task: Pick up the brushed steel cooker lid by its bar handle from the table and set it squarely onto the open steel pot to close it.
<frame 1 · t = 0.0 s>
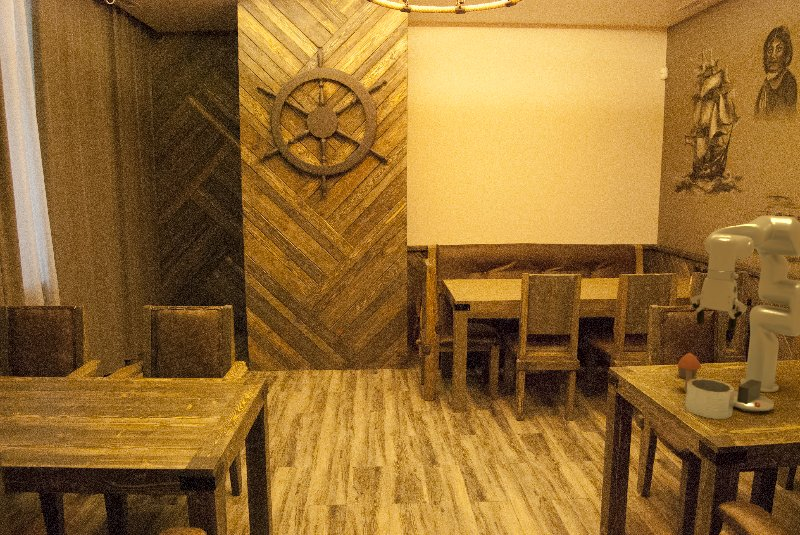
hand: (715, 326, 197), 31 cm above the table, tool pointing down, fingers open, 9 cm apart
lid: (747, 406, 212), on the table
pot: (708, 410, 208), on the table
vase: (686, 378, 240), on the table
mushroom: (686, 391, 225), on the table
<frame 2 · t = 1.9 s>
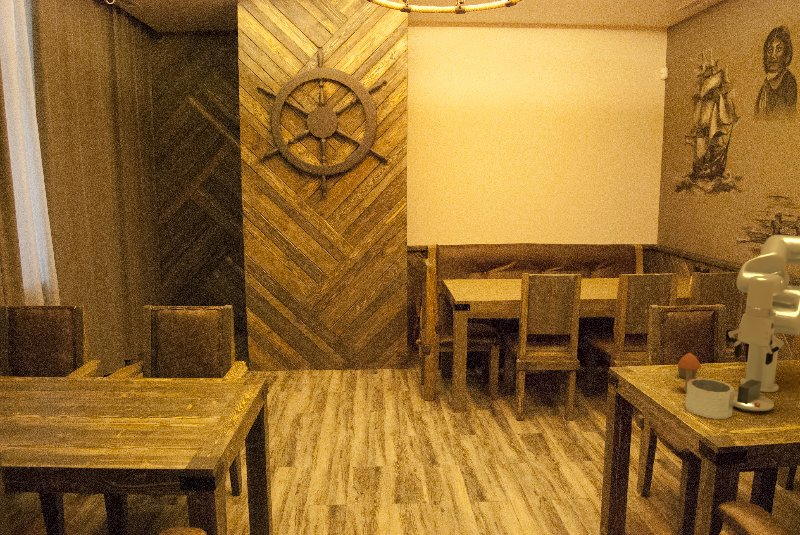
hand: (752, 360, 208), 17 cm above the table, tool pointing down, fingers open, 9 cm apart
nothing on the table moved.
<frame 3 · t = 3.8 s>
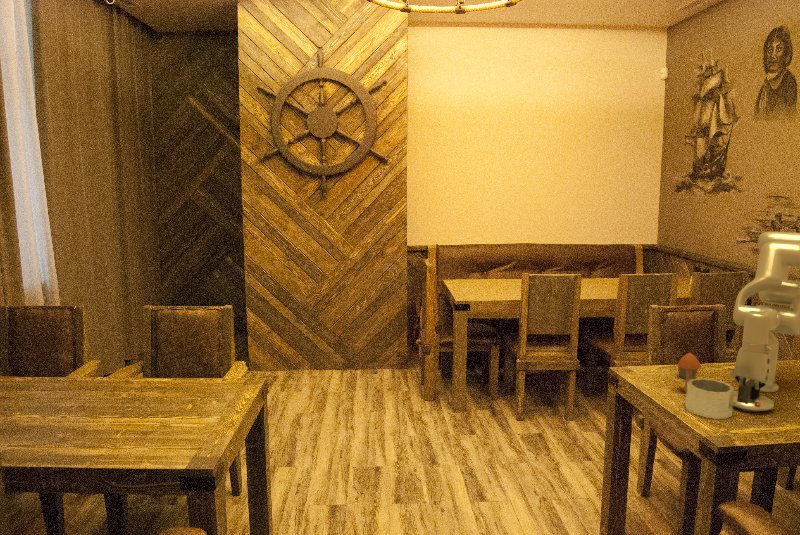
hand: (748, 397, 211), 3 cm above the table, tool pointing down, fingers closed on lid, 3 cm apart
lid: (747, 406, 212), on the table, touching gripper
everything else where it was.
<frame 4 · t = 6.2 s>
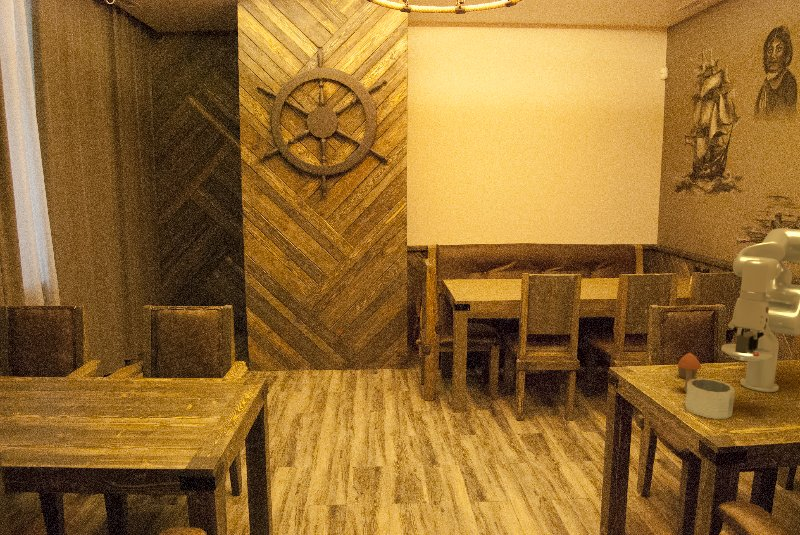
hand: (746, 348, 207), 21 cm above the table, tool pointing down, fingers closed on lid, 3 cm apart
lid: (745, 357, 207), point 18 cm above the table, touching gripper
everything else where it was.
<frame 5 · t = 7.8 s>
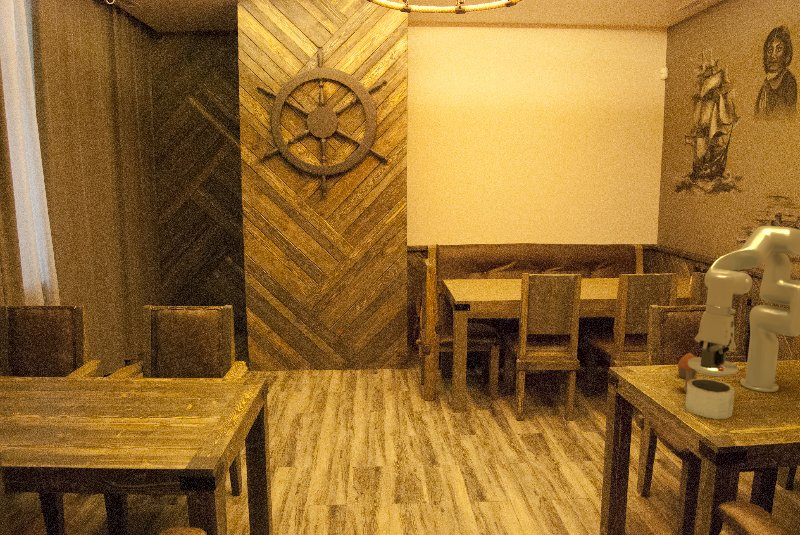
hand: (712, 362, 204), 17 cm above the table, tool pointing down, fingers closed on lid, 3 cm apart
lid: (711, 371, 205), point 14 cm above the table, touching gripper
everything else where it was.
when the fingers open (12 cm above the table, at t = 8.9 s): lid drops 1 cm, resting on pot.
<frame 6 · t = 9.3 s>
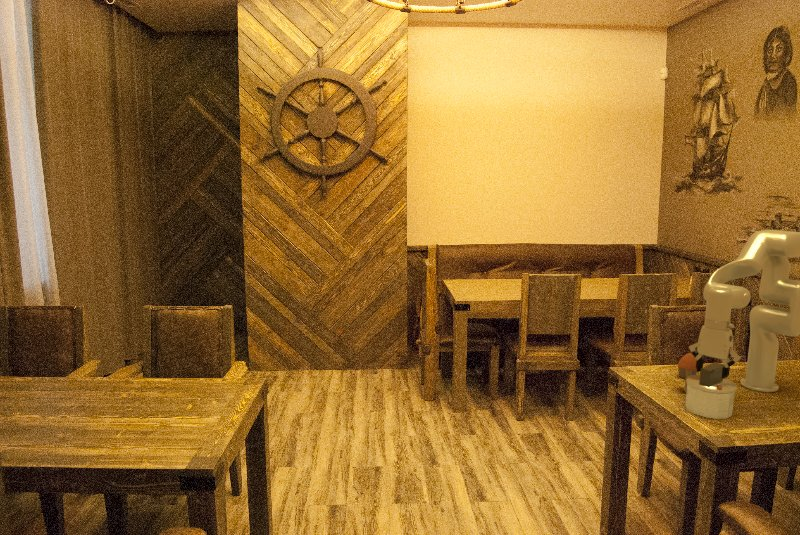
hand: (711, 374, 205), 13 cm above the table, tool pointing down, fingers open, 7 cm apart
lid: (710, 389, 206), point 7 cm above the table, touching pot
everything else where it was.
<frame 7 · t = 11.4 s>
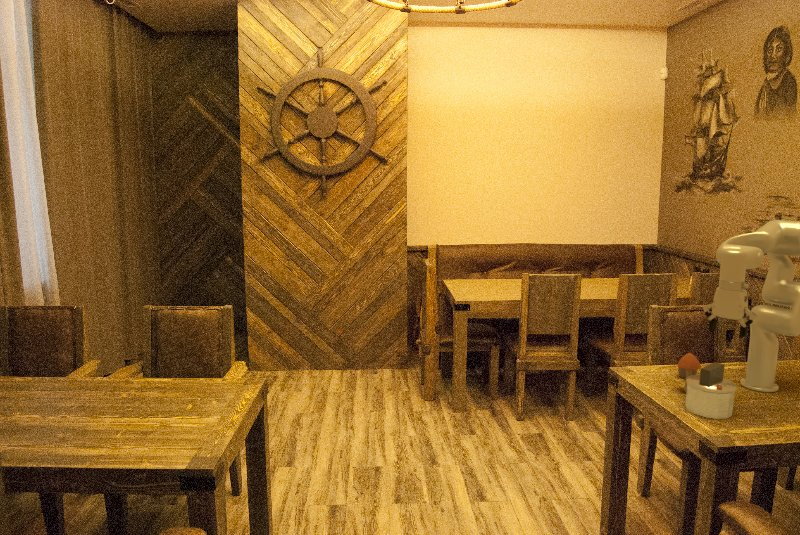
hand: (727, 334, 206), 26 cm above the table, tool pointing down, fingers open, 9 cm apart
nothing on the table moved.
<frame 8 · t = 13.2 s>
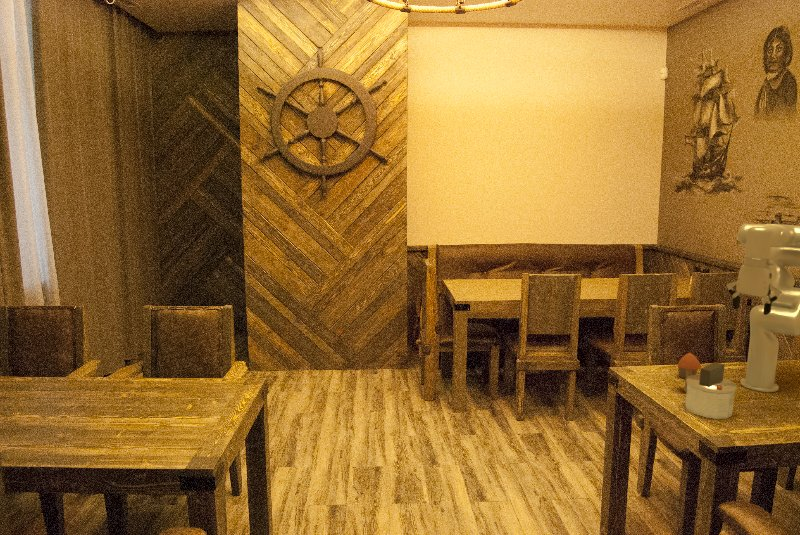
hand: (751, 311, 210), 33 cm above the table, tool pointing down, fingers open, 9 cm apart
nothing on the table moved.
at the end: lid 0.1 cm off-centre on the pot, point 7.5 cm above the pot's base; lid tilted 0°; the gripper is holding nothing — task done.
